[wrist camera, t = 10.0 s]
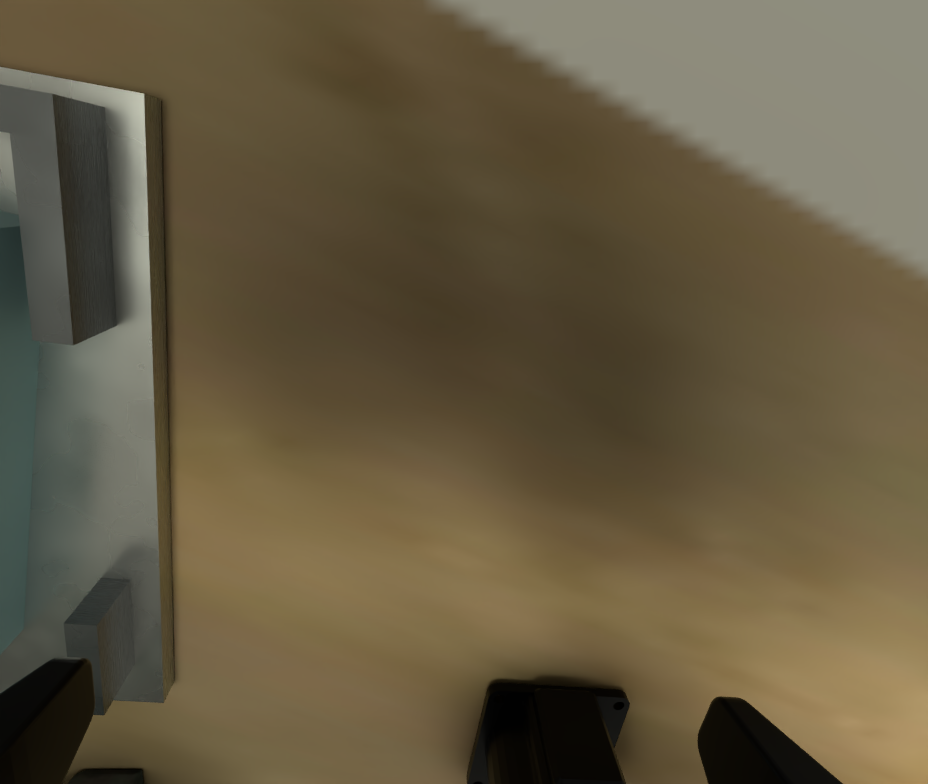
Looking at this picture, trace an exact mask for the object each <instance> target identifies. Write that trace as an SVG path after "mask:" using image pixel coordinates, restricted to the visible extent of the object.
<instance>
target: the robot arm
mask: <svg viewBox="0 0 928 784" xmlns="http://www.w3.org/2000/svg"><path fill="white" fill-rule="evenodd" d="M629 704H630V703H629V701H628V698H627V696H626V694H625V692H623V691H621V690H611V689H594V688H578V687H561V686H545V685H528V684H512V683H495V684H493V685H491V686H490V687H489V688H488V690H487V693H486V697H485V702H484V706H483V710H482V714H481V718H480V722H479V727H478V731H477V735H476V739H475V743H474V747H473V752H472V756H471V760H470V764H469V768H468V772H467V784H626V782H625V779H624V776H623V773H622V770H621V767H620V764H619V762H618V759H617V756H616V753H615V750H614V747H615V744H616V742H617V739H618V736H619V733H620V731H621V728H622V725H623V722H624V720H625V717H626V714H627V711H628V709H629ZM94 709H95V693H94V682H93V671H92V664H91V662H90V661H89V660H88V659H86V658H78V657H56V658H53V659H51V660H49V661H47V662H46V663H44V664H43V665H41V666H40V667H38V668H37V669H35V670H34V671H32V672H31V673H29V674H28V675H26V676H25V677H23V678H22V679H20V680H19V681H17V682H16V683H14V684H13V685H11V686H10V687H9V688H7V689H6V690H4V691H3V692H1V693H0V784H62V783H63V781H64V779H65V777H66V774H67V772H68V770H69V768H70V766H71V763H72V761H73V759H74V757H75V755H76V753H77V750H78V748H79V746H80V744H81V742H82V740H83V737H84V735H85V733H86V731H87V729H88V727H89V724H90V722H91V719H92V716H93V713H94ZM698 749H699V754H700V757H701V760H702V764H703V767H704V770H705V774H706V777H707V780H708V784H843V783H841V782H840V781H839V780H838V779H837V778H836V777H834V776H833V775H832V774H831V773H830V772H829V771H827V770H826V769H825V768H824V767H823V766H822V765H820V764H819V763H818V762H817V761H816V760H815V759H813V758H812V757H811V756H810V755H809V754H807V753H806V752H805V751H804V750H803V749H802V748H800V747H799V746H798V745H797V744H796V743H795V742H793V741H792V740H791V739H790V738H789V737H788V736H786V735H785V734H784V733H783V732H782V731H781V730H779V729H778V728H777V727H776V726H775V725H774V724H772V723H771V722H770V721H769V720H768V719H767V718H765V717H764V716H763V715H762V714H761V713H760V712H758V711H757V710H756V709H755V708H754V707H752V706H751V705H750V704H749V703H748V702H746V701H745V700H743V699H741V698H736V697H716V698H715V699H714V700H713V701H712V702H711V704H710V707H709V709H708V711H707V714H706V716H705V718H704V721H703V723H702V725H701V727H700V730H699V733H698Z"/></svg>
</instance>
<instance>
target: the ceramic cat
mask: <svg viewBox="0 0 928 784" xmlns="http://www.w3.org/2000/svg"><path fill="white" fill-rule="evenodd" d="M68 784H143V775H142V770H85V771H82V772H80V773H77V774H76V775H75V776H74V777H73V778H72V779H71V781H70V782H69V783H68Z"/></svg>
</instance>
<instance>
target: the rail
mask: <svg viewBox="0 0 928 784" xmlns="http://www.w3.org/2000/svg"><path fill="white" fill-rule="evenodd" d="M39 345H40V341H34V340H32V332H31V323H30V314H29V305H28V296H27V287H26V278H25V269H24V260H23V250H22V241H21V232H20V223H19V216H18V215H15V214H11V213H8V212H4V211H1V210H0V655H1V654H2V652H3V651H4V650H5V649H6V648H7V647H8V646H9V645H10V644H11V642H12V641H13V640H14V639H15V638H16V637H17V636H18V635H19V634H20V632H21V631H22V630H23V629H24V616H25V598H26V580H27V562H28V544H29V526H30V508H31V489H32V471H33V453H34V435H35V417H36V399H37V381H38V363H39Z"/></svg>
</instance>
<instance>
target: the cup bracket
mask: <svg viewBox="0 0 928 784" xmlns="http://www.w3.org/2000/svg"><path fill="white" fill-rule="evenodd" d="M0 210H1V211H4V212H8V213H11V214H15V215H18V216H19V223H20V232H21V241H22V250H23V260H24V269H25V278H26V287H27V296H28V305H29V314H30V323H31V332H32V340H34V341H40V345H39V363H38V381H37V399H36V417H35V435H34V453H33V471H32V489H31V508H30V526H29V544H28V562H27V580H26V598H25V616H24V629H23V630H22V631H21V632H20V634H19V635H18V636H17V637H16V638H15V639H14V640H13V641H12V642H11V644H10V645H9V646H8V647H7V648H6V649H5V650H4V651H3V652H2V654H1V655H0V693H1V692H3V691H4V690H6V689H7V688H9V687H10V686H11V685H13V684H14V683H16V682H17V681H19V680H20V679H22V678H23V677H25V676H26V675H28V674H29V673H31V672H32V671H34V670H35V669H37V668H38V667H40V666H41V665H43V664H44V663H46V662H47V661H49V660H51V659H53V658H56V657H78V658H86V659H88V660H89V661H90V662H91V664H92V671H93V682H94V693H95V709H94V713H93V715H105V713H106V711H107V710H108V708H109V706H110V705H111V703H112V701H113V700H119V701H138V702H158V703H164V701H165V699H166V697H167V695H168V693H169V691H170V689H171V687H172V685H173V683H174V648H173V604H172V560H171V517H170V473H169V429H168V385H167V341H166V297H165V254H164V210H163V166H162V122H161V99H158V98H155V97H152V96H149V95H146V94H143V93H138V92H132V91H127V90H122V89H116V88H111V87H106V86H100V85H95V84H89V83H84V82H79V81H73V80H68V79H63V78H57V77H52V76H47V75H41V74H36V73H30V72H25V71H20V70H14V69H9V68H4V67H0Z"/></svg>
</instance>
